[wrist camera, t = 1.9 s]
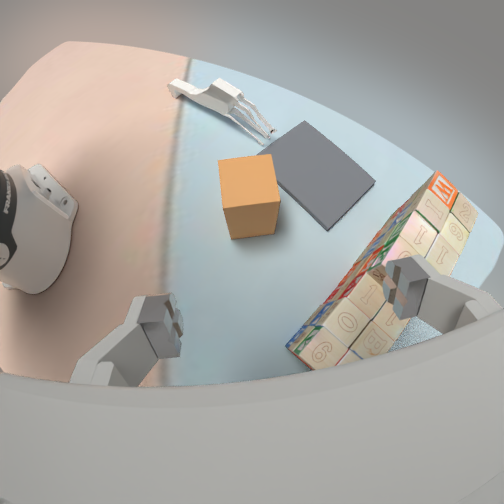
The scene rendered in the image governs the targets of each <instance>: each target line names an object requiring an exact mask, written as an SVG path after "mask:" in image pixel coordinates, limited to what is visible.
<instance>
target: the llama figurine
mask: <svg viewBox="0 0 504 504" xmlns="http://www.w3.org/2000/svg"><path fill="white" fill-rule="evenodd" d="M167 87H168V89H169V91H170V92H171V94H172V96H173V97H174V98H175V99H176V98H177V97H178V96H179V95H181V94H184V95H185V96H187V97H188V98H190V99H191V100H193V101H195V102H197V103H199V104H201V105H203V106H205V107H207V108H210V109H212V110H214V111H216V112H219V113H220V114H222V115H223V116H226V117H228V118H230V119H231V120H233V121H234V122H235V123H237V124H238V125H239V126H241V127H242V128H243V129H244V130H245V131H247V132H248V133H249V134H250V135H251V136H253V137H254V138H255V139H256V140H257V141H258V143H259V144H260V145H264V144H263V143H262V142H261V141H260V140H259V139H258V138H257V137H256V136H254V135H253V134H252V133H251V132H250V131H248V130H247V129H246V128H245V127H244V126H242V125H241V124H240V123H239V122H238V121H236V120H235V119H234V118H233V117H232V116H231V115H229V114H227V113H230V114H235V115H237V116H238V117H240V118H241V119H243V120H244V121H245V122H247V123H248V124H249V125H251V126H252V127H253V128H255V129H256V130H257V131H258V132H260V133H261V134H262V135H263V136H264V138H266V139H270V136H269V134H267V133H266V132H265V131H264V130H263V129H262V128H261V126H260V125H259V124H258V123H257V122H256V121H255V119H254V117H253V115H252V114H251V112H250V110H249V109H248V108H246V107H245V106H243V105H242V104H240V103H239V102H238V100H239V101H241V102H243V103H245V104H246V105H248V106H250V107H251V108H252V109H253V110H254V111H255V112H256V114H257V116H258V118H259V119H260V120H261V121H262V122H263V123H264V124H265V126H266V127H267V128H268V129H269V130H270V131H271V134H273V133H274V132H276V131H277V130H275V128H273V127H272V126H271V125H270V124H269V123H268V122H267V121H266V119H265V118H264V117H263V116H262V115H261V113H259V112H258V110H257V108H256V106H255V105H254V104H253V103H251V102H250V101H248V100H247V99H245V98H244V94H243V92H242V91H240V90H239V89H237V88H236V87H234V86H232V85H231V84H229V83H227V82H226V81H224V80H222V79H220V78H219V79H217V80H216V81H215V82H213V83H212V84H211V85H210V87H207V88H205V89H197V88H196V87H195V86H193V85H191V84H188V83H186V82H184V81H181V80H179V79H174V80H173V81H172V82H170V83H169V84H168V85H167ZM234 106H236V107H238V108H240V109H241V110H243V111H245V112H246V113H247V114H248V115H249V116H250V118H251V119H252V120H253V121H254V122H255V123H256V124H257V125H258V127H257V126H256V125H255V124H254V123H253V122H251V121H250V120H249V119H248V118H247V117H246V116H244V115H243V114H242V113H241V112H240V111H239V110H238V109H236V108H235V107H234ZM270 131H269V132H270Z"/></svg>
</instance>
